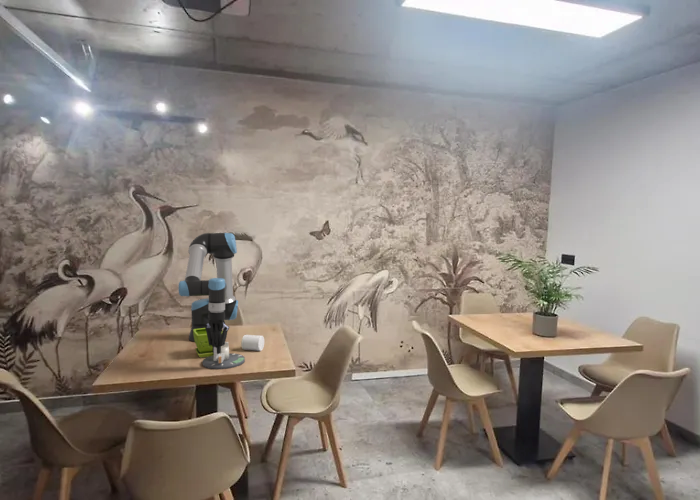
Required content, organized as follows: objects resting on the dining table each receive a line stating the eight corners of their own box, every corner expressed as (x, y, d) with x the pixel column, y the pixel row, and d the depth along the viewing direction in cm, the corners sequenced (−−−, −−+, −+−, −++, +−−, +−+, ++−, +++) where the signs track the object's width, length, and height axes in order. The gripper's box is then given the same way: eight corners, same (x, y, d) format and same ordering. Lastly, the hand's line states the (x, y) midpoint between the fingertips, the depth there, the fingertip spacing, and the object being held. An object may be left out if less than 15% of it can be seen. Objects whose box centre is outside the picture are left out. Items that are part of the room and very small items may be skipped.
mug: (258, 352, 234) (258, 337, 233) (241, 351, 236) (241, 336, 235) (267, 346, 246) (267, 332, 245) (250, 345, 248) (250, 331, 247)
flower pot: (196, 359, 222) (196, 335, 221) (192, 352, 234) (192, 329, 233) (225, 356, 228) (224, 331, 227) (219, 349, 240) (219, 326, 239)
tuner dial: (196, 361, 218) (195, 358, 218) (233, 353, 231) (233, 350, 231) (213, 372, 203) (213, 368, 203) (252, 363, 216) (252, 359, 216)
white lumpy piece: (219, 357, 220) (219, 341, 219) (230, 357, 220) (229, 340, 219) (214, 365, 208) (214, 347, 207) (225, 365, 208) (224, 347, 208)
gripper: (200, 311, 207) (200, 360, 209) (223, 313, 203) (223, 364, 204) (210, 308, 214) (210, 356, 216) (233, 310, 210) (232, 359, 211)
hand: (216, 359), depth 210 cm, fingers closed
